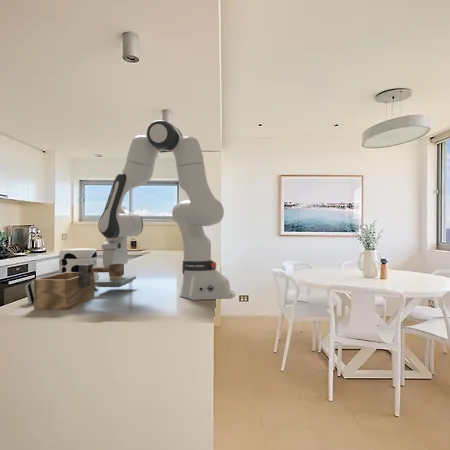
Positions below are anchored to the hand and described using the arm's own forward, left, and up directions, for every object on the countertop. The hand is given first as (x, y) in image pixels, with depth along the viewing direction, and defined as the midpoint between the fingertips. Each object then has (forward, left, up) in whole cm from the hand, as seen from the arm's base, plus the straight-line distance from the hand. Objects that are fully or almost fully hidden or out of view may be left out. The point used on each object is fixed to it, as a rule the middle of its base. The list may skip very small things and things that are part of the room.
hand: (116, 276), depth 152 cm
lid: (0, 0, -2) cm, 2 cm away
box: (+8, +23, -7) cm, 26 cm away
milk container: (+19, -4, -7) cm, 20 cm away
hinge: (+22, +17, -7) cm, 28 cm away
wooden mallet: (-6, +23, +4) cm, 24 cm away
